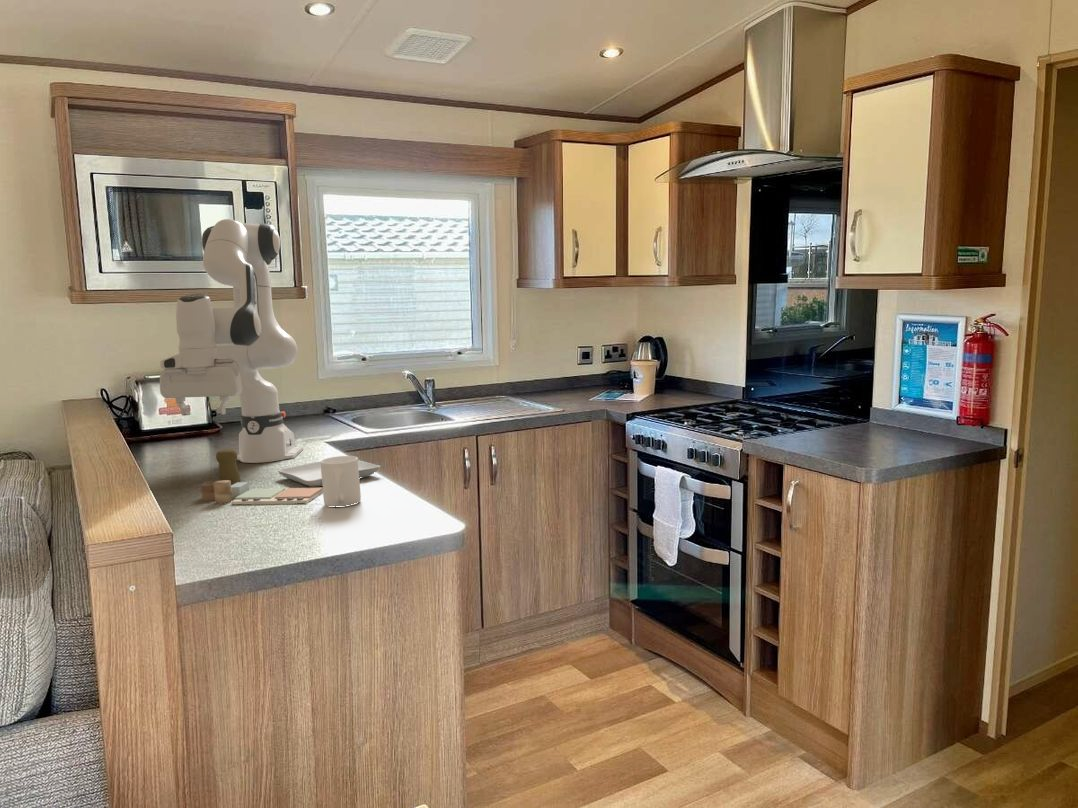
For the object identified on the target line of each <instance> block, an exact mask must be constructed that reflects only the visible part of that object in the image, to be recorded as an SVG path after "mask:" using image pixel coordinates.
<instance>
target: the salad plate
mask: <svg viewBox="0 0 1078 808" xmlns="http://www.w3.org/2000/svg"><path fill="white" fill-rule="evenodd" d="M320 462H321V460H320V461H315V462H311V463H306V464H299V465H295V466H290V467H287V468H286V467H285V468H282V469H281V468H280V469H278V470H277V472H278V473H279V475H281V476H282V477H284V478H285V479H289V480H292V481H294V482H297V483H300V484H302V485H304V486H305V485H306V486H309V487H310V488H320V487H319V486H322V474H321V463H320ZM358 468H359V478H360V477H365V476H366V477H369V476H372V475H373V474H375V473H376V472H378V471H379V470H380V468H381V465H379V464H375V463H371V462H367V461H363V460H359V459H358ZM374 472H375V473H374ZM366 477H365V478H366Z"/></svg>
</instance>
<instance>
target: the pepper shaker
mask: <svg viewBox="0 0 1078 808" xmlns="http://www.w3.org/2000/svg"><path fill="white" fill-rule="evenodd" d="M237 456H238V452H237V451H236V449H235V448H233V449H232V448H225V449H220V450H218V451H217V452H216V454H215V457H216V458H215V459H216V461H217V463H218V480H217V481H221V480H222V481H223V480H229V481H231V485H233V484H235V483H237V482H241V478H240V474H239V469H238V465H237V461H238V460H237Z"/></svg>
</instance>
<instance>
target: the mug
mask: <svg viewBox="0 0 1078 808" xmlns="http://www.w3.org/2000/svg"><path fill="white" fill-rule="evenodd" d="M358 460H359V458H358V457H357V456H353V455H340V456H339V455H338V456H331V457H327V458H323V459H321V460H320V461H321V462H320V461H319V462H320V463H321V474H322V486H323V487H322V488H323V493H322V495H323V497H322V498H323V503H324V505H325V506H326V507H327V506H335V507H336V506H346V505H351V504H354V503H357V502H359V501H360V502H361V498H362V497H361V496H362V495H361V494H362V493H361V483H360V482H361V481H360V479H359V468H358ZM360 502H359V503H360Z"/></svg>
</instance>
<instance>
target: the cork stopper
mask: <svg viewBox="0 0 1078 808" xmlns="http://www.w3.org/2000/svg"><path fill="white" fill-rule="evenodd" d="M216 481H217V482H214V483H213V485H214V495H215V500H214V503H215V505H224V504H223V503H226V504H229V503H228V502H230V503H231V501H233V500H234V498H232V489H231V481H229V480H223V481H218V480H216Z"/></svg>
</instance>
